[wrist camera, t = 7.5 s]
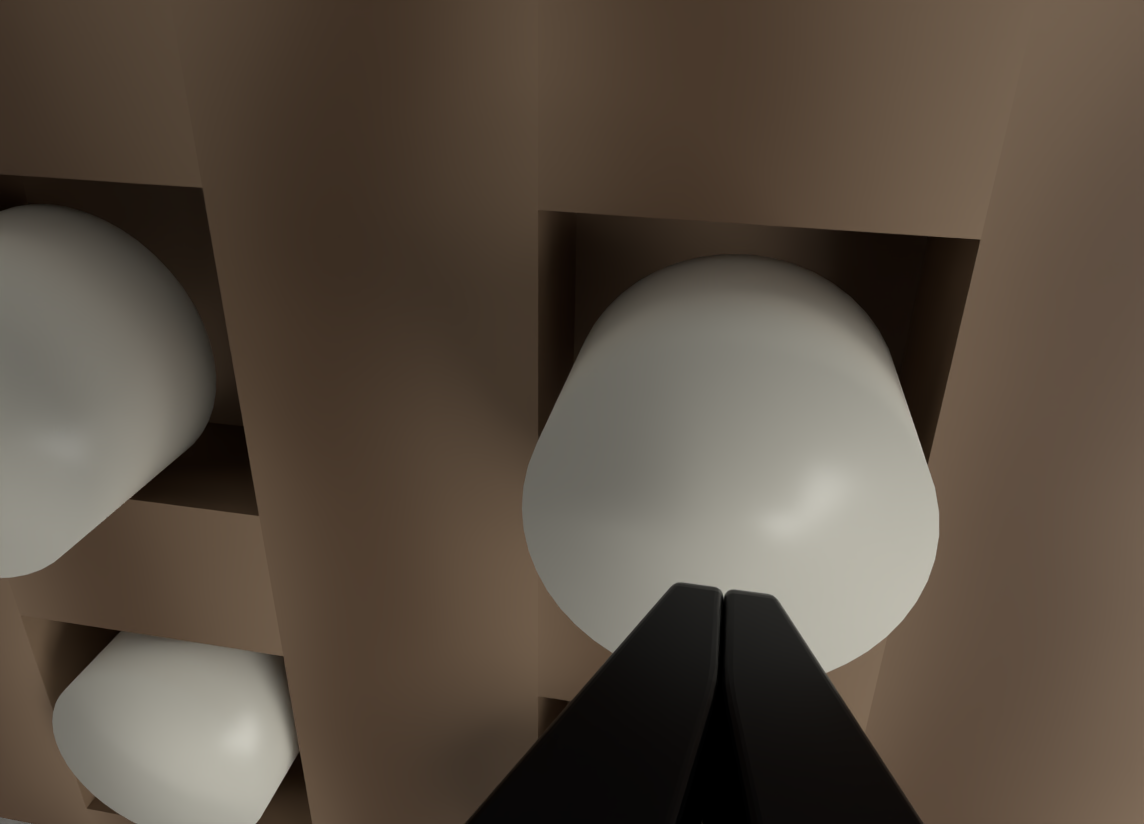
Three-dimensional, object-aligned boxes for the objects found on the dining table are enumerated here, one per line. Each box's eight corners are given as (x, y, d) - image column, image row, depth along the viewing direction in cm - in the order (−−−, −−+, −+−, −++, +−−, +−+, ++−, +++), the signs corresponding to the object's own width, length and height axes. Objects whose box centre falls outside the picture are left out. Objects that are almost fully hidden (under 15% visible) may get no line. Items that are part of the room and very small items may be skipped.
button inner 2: (322, 588, 16) (248, 693, 14) (344, 742, 18) (281, 858, 16) (128, 560, 17) (26, 656, 15) (168, 712, 19) (82, 819, 16)
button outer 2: (187, 214, 11) (33, 282, 9) (236, 483, 13) (120, 599, 11) (-85, 195, 12) (-296, 252, 9) (-2, 453, 14) (-161, 556, 11)
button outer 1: (930, 267, 10) (984, 364, 7) (868, 560, 12) (896, 714, 9) (575, 242, 10) (520, 323, 8) (569, 524, 12) (522, 659, 10)
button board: (1363, -58, 10) (1603, -67, 7) (1014, 865, 17) (1064, 1043, 14) (-255, -82, 13) (-526, -96, 11) (24, 695, 21) (-93, 810, 18)
